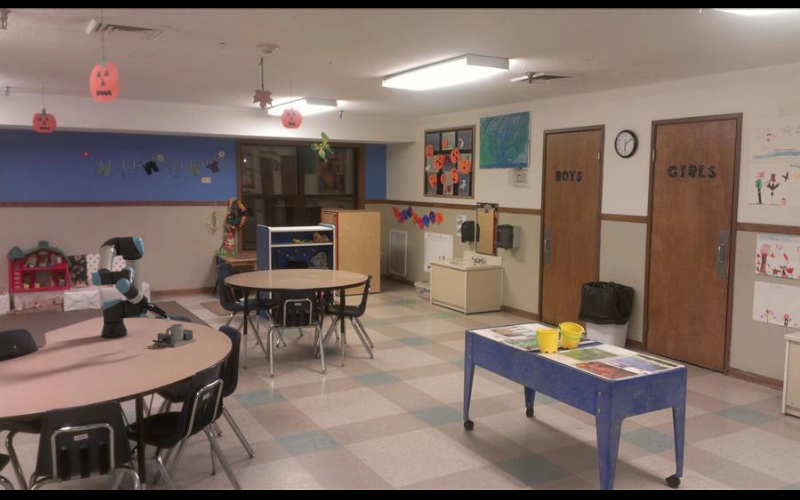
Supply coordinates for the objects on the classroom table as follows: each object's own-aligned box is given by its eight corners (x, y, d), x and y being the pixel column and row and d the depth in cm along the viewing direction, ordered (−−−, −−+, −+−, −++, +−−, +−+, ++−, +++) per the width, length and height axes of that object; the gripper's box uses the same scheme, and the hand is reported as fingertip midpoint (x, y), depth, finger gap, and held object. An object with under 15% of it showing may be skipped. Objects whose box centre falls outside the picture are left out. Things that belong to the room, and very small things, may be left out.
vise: (146, 345, 378) (146, 335, 378) (176, 337, 397) (176, 327, 396) (167, 349, 369) (166, 338, 368) (196, 341, 388) (196, 330, 387)
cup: (183, 340, 384) (182, 326, 383) (165, 342, 381) (165, 327, 380) (183, 337, 391) (182, 323, 390) (166, 339, 387) (165, 324, 386)
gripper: (120, 302, 365) (143, 322, 380) (148, 306, 353) (172, 327, 367) (127, 291, 369) (150, 312, 384) (156, 295, 357) (179, 316, 371)
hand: (161, 319), depth 376 cm, fingers open, 13 cm apart
